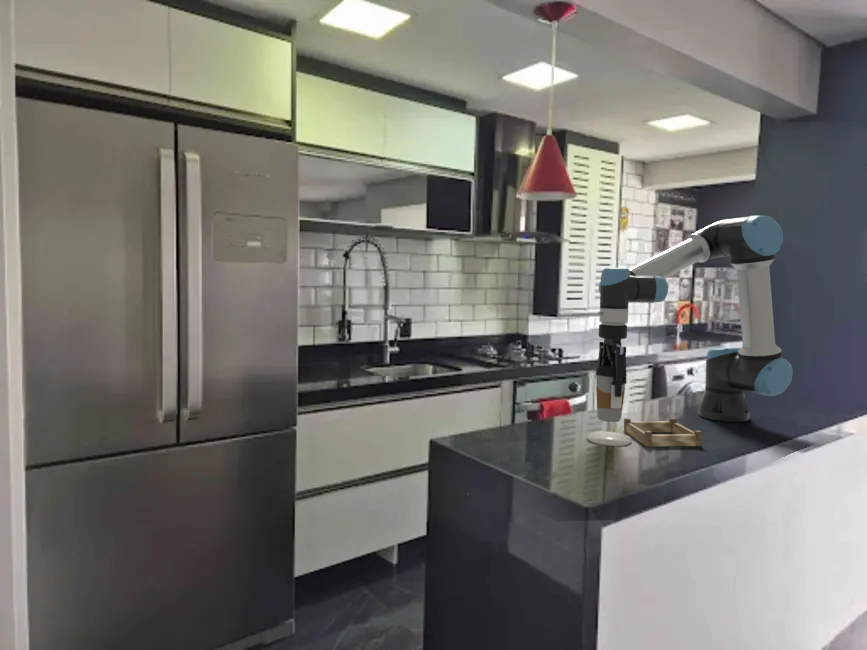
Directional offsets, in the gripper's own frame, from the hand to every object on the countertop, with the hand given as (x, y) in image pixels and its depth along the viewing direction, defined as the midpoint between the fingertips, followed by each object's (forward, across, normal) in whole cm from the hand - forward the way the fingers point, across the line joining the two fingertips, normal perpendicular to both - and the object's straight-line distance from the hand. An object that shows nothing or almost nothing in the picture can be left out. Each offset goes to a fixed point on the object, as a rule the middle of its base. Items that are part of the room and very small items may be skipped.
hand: (609, 404), depth 159 cm
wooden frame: (+10, -1, +16) cm, 19 cm away
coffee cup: (+5, 0, 0) cm, 5 cm away
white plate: (+10, 0, 0) cm, 10 cm away
